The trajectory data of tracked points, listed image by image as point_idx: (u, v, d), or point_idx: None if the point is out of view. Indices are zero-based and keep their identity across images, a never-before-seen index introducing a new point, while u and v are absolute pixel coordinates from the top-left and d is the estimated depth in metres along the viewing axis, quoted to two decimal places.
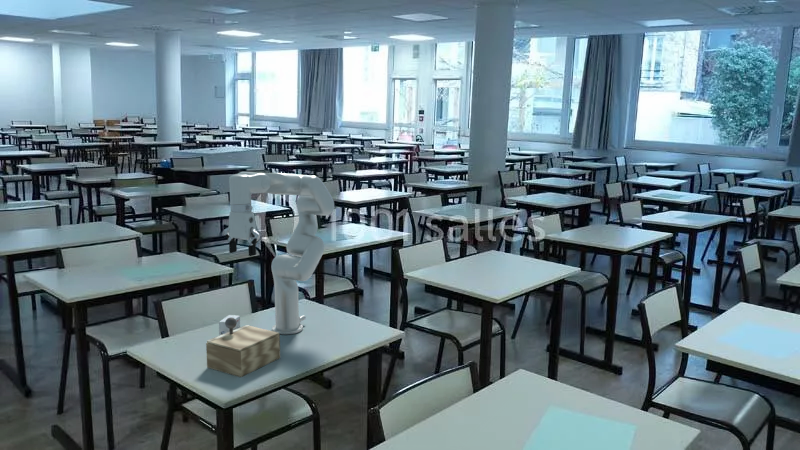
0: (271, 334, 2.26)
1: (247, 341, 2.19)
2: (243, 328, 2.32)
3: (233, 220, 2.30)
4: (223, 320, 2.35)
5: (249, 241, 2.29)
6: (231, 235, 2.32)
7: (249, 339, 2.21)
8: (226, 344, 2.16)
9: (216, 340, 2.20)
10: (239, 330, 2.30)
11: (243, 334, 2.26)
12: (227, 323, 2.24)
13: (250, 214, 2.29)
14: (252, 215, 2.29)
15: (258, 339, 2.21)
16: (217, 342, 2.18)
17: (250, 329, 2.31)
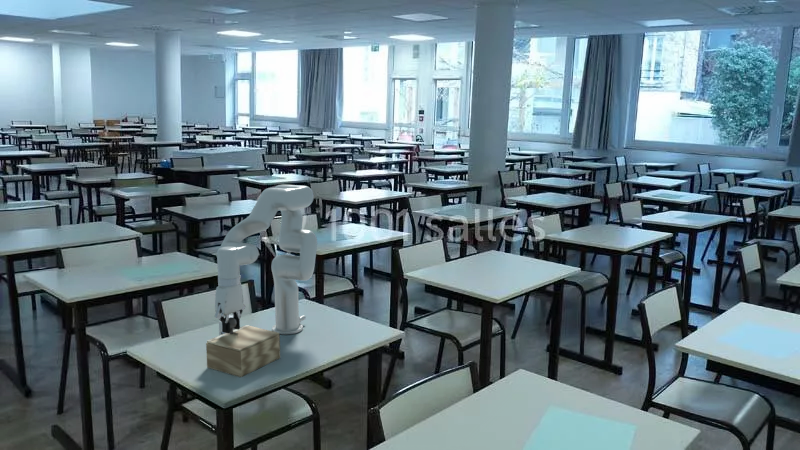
0: (271, 334, 2.26)
1: (247, 341, 2.19)
2: (243, 328, 2.32)
3: (231, 295, 2.22)
4: None
5: (239, 314, 2.27)
6: (227, 312, 2.21)
7: (249, 339, 2.21)
8: (226, 344, 2.16)
9: (216, 340, 2.20)
10: (239, 330, 2.30)
11: (243, 334, 2.26)
12: None
13: None
14: None
15: (258, 339, 2.21)
16: (217, 342, 2.18)
17: (250, 329, 2.31)
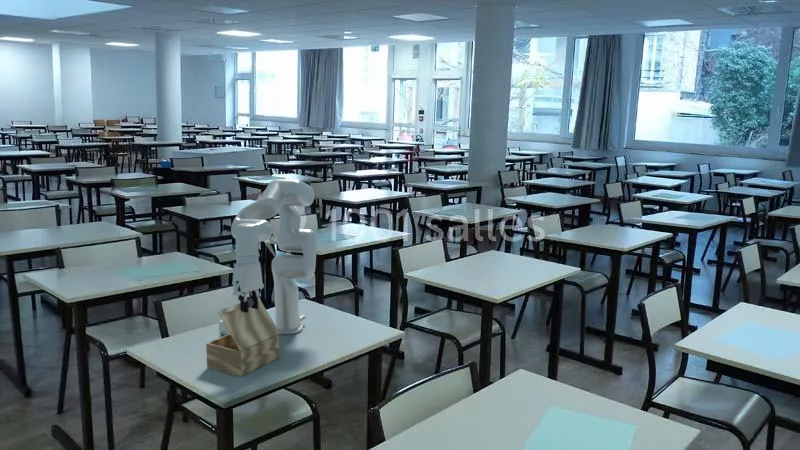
0: (273, 333, 2.26)
1: (250, 335, 2.18)
2: None
3: (250, 273, 2.15)
4: None
5: (257, 293, 2.21)
6: (246, 290, 2.15)
7: (253, 332, 2.20)
8: (232, 330, 2.14)
9: (226, 314, 2.16)
10: None
11: (251, 317, 2.23)
12: None
13: None
14: None
15: (260, 338, 2.20)
16: (226, 320, 2.14)
17: (258, 309, 2.27)
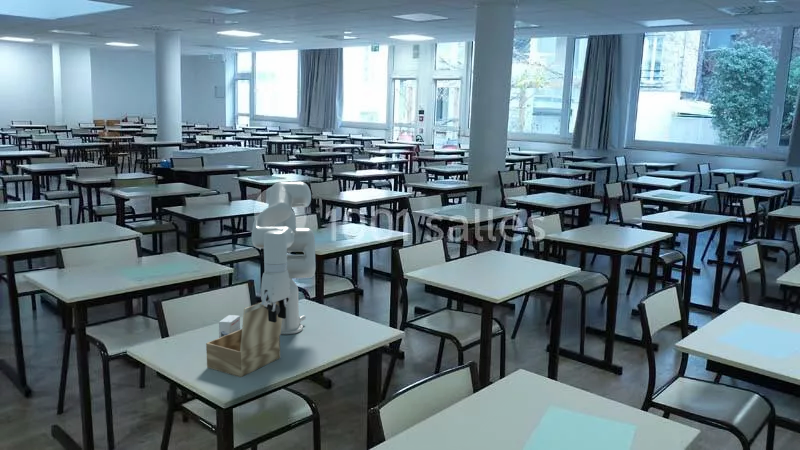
0: (275, 334, 2.25)
1: (257, 336, 2.16)
2: (277, 301, 2.21)
3: (279, 281, 2.09)
4: (223, 320, 2.35)
5: (285, 302, 2.15)
6: (274, 300, 2.09)
7: (260, 332, 2.18)
8: (245, 330, 2.10)
9: (249, 313, 2.10)
10: None
11: (267, 316, 2.19)
12: None
13: None
14: None
15: (262, 339, 2.20)
16: (246, 319, 2.09)
17: None
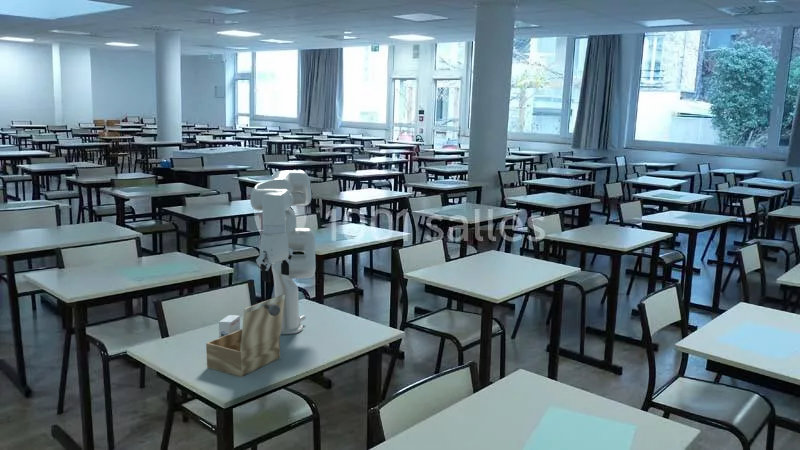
0: (275, 334, 2.25)
1: (257, 336, 2.16)
2: (278, 301, 2.21)
3: (277, 243, 2.10)
4: (223, 320, 2.35)
5: (287, 260, 2.18)
6: (273, 261, 2.10)
7: (260, 332, 2.18)
8: (245, 330, 2.10)
9: (250, 313, 2.10)
10: (273, 303, 2.19)
11: (267, 316, 2.19)
12: (271, 313, 2.12)
13: None
14: None
15: (262, 339, 2.20)
16: (246, 319, 2.09)
17: None
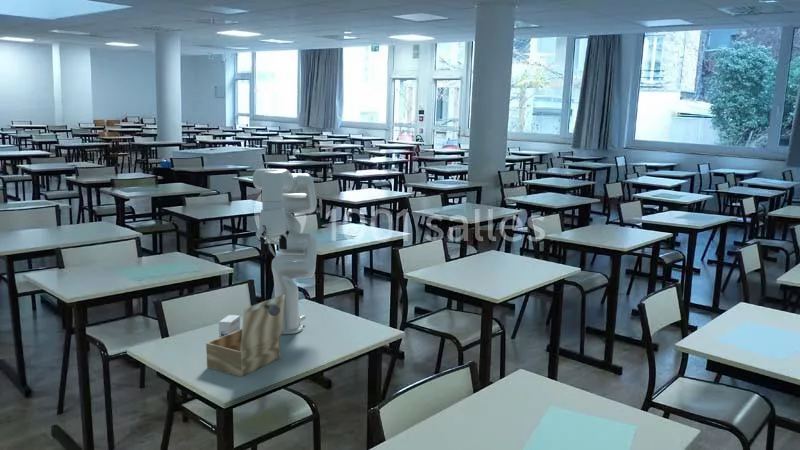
0: (275, 334, 2.25)
1: (257, 336, 2.16)
2: (278, 301, 2.21)
3: (276, 218, 2.26)
4: (223, 320, 2.35)
5: (285, 235, 2.33)
6: (271, 235, 2.26)
7: (260, 332, 2.18)
8: (245, 330, 2.10)
9: (250, 313, 2.10)
10: (273, 303, 2.19)
11: (267, 316, 2.19)
12: (271, 313, 2.12)
13: None
14: None
15: (262, 339, 2.20)
16: (246, 319, 2.09)
17: None
